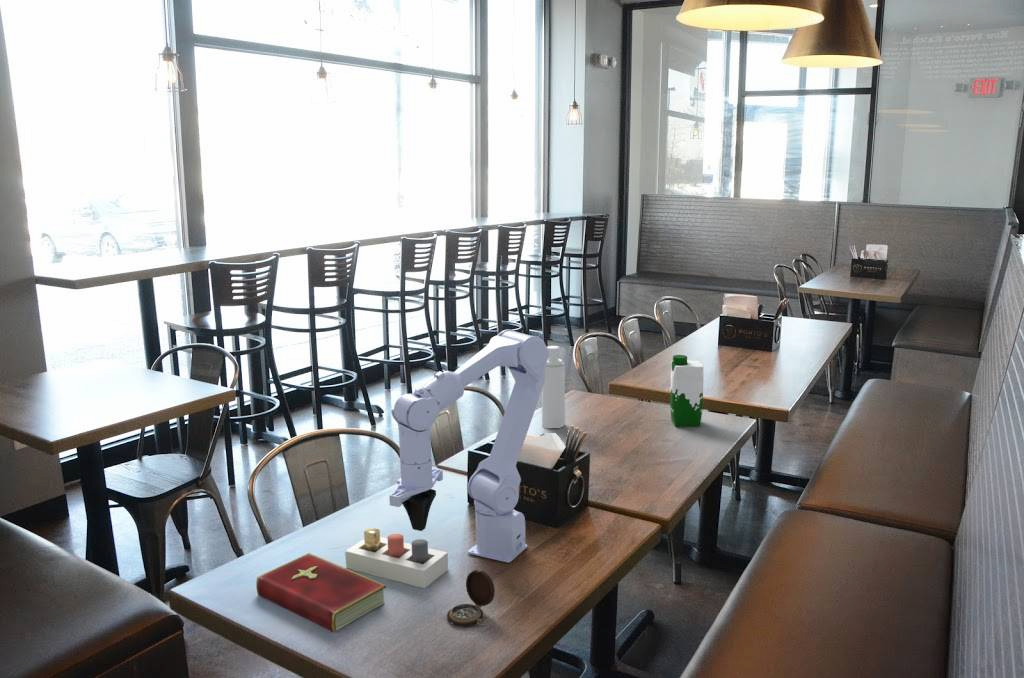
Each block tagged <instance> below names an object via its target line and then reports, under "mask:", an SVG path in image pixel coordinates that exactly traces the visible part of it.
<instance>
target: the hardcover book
mask: <svg viewBox="0 0 1024 678" xmlns="http://www.w3.org/2000/svg"><path fill="white" fill-rule="evenodd" d="M255 583H256V585H255V586H256V593H257V596H259V597H261V598H263V599H265V600H266V601H269V602H271V603H273V604H276V605H277V606H279V607H280V608H283V609H285V610H287V611H289V612H291V613H293V614H295V615H297V616H300V617H302V618H303V619H306V620H307V621H310V622H312V623H315V625H318V626H320V627H322V628H324V629H326V630H328V631H330V632H333V633H334V634H337V633H338V630H340V629H342V628H343V627H345V626H347V625H350V623H352V622H354V621H356V620H357V619H359V618H362V616H364V615H366V614H369V612H371V611H373V610H375V609H377V608H378V607H380V606H382V605H384V604H385V599H384V589H386V588H387V585H386V584H384V583H382V582H380V581H377V580H374V579H372V578H370V577H368V576H365V575H363V574H360V573H358V572H355V571H354V570H352V569H348V568H346V567H343V566H341V565H339V564H337V563H334V562H332V561H329V560H326V559H325V558H322V557H319V556H317V555H316V554H312V553H310V552H309V553H306V554H304V555H301V556H299V557H297V558H295V559H293V560H291V561H289V562H286V563H284V564H282V565H280V566H278V567H276V568H273V569H271V570H269V571H267V572H265V573H263V574H260V575H259V576H257V577H256V582H255Z"/></svg>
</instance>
